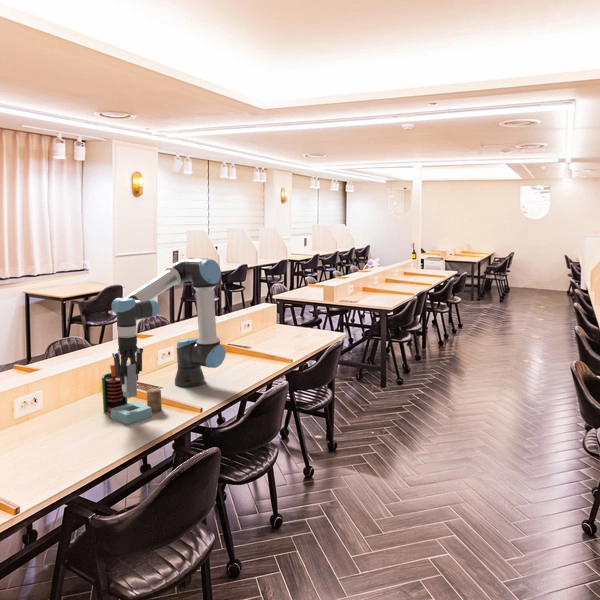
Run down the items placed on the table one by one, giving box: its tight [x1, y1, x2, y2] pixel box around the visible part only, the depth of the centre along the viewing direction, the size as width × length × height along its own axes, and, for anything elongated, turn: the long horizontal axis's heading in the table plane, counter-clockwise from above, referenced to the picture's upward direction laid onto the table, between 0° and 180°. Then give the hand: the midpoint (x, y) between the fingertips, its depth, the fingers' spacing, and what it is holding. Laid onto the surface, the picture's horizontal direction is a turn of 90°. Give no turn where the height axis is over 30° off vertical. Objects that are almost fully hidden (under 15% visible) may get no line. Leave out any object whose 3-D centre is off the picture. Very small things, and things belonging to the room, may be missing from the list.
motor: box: [101, 363, 128, 414], centre depth 236 cm, size 10×9×20 cm
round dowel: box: [146, 388, 163, 414], centre depth 235 cm, size 6×6×9 cm
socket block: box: [110, 401, 153, 425], centre depth 228 cm, size 12×12×4 cm
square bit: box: [123, 361, 138, 399], centre depth 225 cm, size 4×4×14 cm
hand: (129, 389), depth 226 cm, fingers closed on square bit, 4 cm apart
